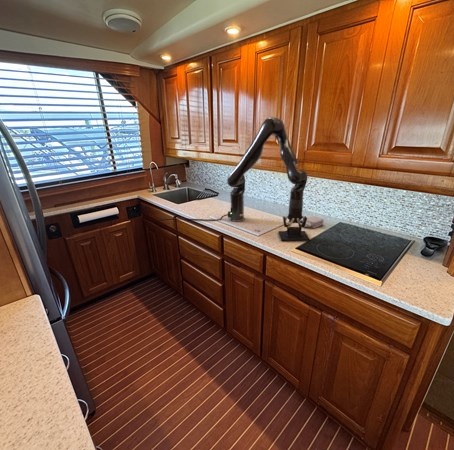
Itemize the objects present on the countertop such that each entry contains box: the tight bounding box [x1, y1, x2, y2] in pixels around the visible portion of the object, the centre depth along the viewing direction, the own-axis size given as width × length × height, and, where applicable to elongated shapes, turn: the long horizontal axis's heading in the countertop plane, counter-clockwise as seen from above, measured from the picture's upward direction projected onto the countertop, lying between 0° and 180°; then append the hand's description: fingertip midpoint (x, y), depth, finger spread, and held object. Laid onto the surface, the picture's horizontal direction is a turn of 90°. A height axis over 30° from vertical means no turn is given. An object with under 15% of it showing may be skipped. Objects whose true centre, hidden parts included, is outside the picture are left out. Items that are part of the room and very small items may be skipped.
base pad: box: [278, 230, 311, 242], centre depth 141 cm, size 16×12×2 cm
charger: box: [304, 215, 324, 229], centre depth 155 cm, size 5×9×15 cm
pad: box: [289, 226, 300, 236], centre depth 140 cm, size 6×6×4 cm
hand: (293, 233), depth 140 cm, fingers closed on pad, 5 cm apart
